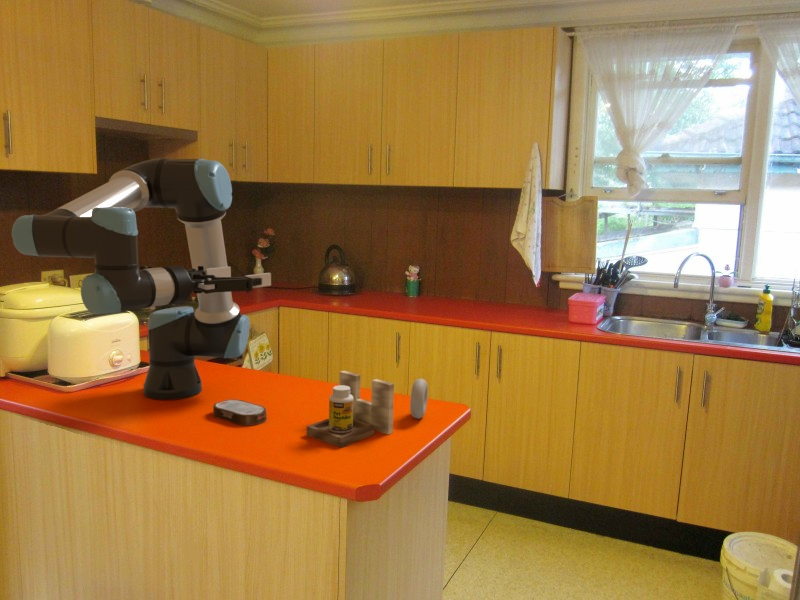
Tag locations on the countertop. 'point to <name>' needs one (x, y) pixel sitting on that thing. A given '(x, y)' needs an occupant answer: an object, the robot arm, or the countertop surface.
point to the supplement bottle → (341, 410)
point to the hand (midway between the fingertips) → (249, 275)
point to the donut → (419, 398)
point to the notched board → (378, 408)
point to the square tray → (340, 440)
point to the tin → (239, 412)
